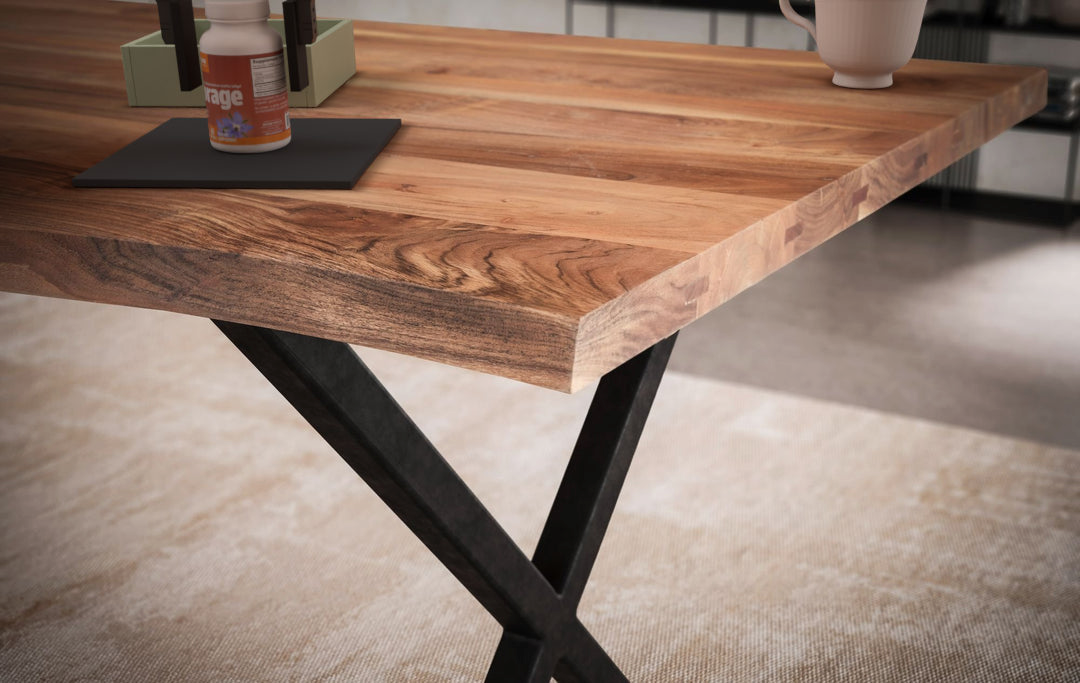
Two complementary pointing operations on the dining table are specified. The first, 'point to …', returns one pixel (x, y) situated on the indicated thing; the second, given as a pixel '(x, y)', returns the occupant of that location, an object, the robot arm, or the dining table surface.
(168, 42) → the robot arm
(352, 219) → the dining table surface
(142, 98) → the crate
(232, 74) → the pill bottle
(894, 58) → the teacup
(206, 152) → the mat
